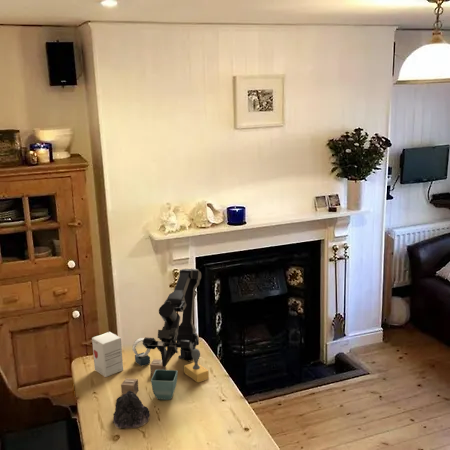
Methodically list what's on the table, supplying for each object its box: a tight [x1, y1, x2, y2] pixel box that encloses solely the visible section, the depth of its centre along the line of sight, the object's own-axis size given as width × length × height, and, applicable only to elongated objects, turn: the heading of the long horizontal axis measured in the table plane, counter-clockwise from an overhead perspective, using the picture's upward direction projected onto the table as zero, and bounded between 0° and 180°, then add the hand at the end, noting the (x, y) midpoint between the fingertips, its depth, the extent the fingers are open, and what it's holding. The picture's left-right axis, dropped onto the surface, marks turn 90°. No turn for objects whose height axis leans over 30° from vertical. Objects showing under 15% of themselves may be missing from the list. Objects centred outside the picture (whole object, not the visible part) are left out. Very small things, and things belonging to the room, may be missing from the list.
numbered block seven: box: [149, 358, 167, 377], centre depth 236 cm, size 5×5×5 cm
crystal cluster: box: [112, 391, 151, 429], centre depth 203 cm, size 13×14×10 cm
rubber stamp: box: [183, 348, 210, 383], centre depth 233 cm, size 10×6×12 cm, turn 36°
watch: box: [132, 337, 152, 367], centre depth 245 cm, size 6×8×11 cm
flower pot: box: [150, 369, 179, 401], centre depth 218 cm, size 9×9×9 cm
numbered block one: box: [120, 377, 140, 396], centre depth 221 cm, size 5×5×5 cm
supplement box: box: [91, 331, 124, 378], centre depth 239 cm, size 9×9×15 cm
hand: (164, 366), depth 216 cm, fingers closed
